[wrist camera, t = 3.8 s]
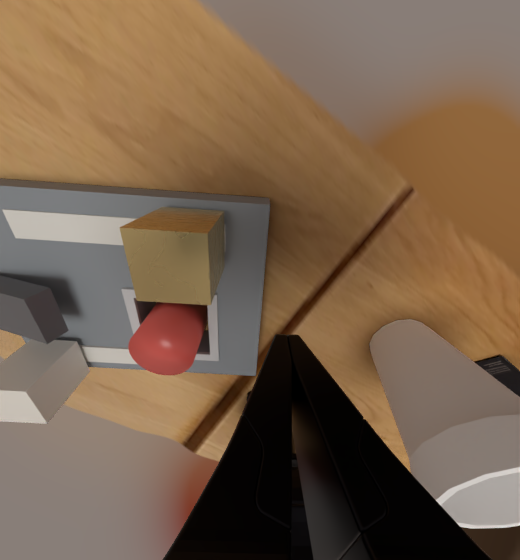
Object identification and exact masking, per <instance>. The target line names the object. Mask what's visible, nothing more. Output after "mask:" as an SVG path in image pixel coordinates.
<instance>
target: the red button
mask: <svg viewBox="0 0 520 560" xmlns="http://www.w3.org/2000/svg"><path fill="white" fill-rule="evenodd" d="M207 321H208V308H207V305H198V304H181V303H165V302H157V303H156V305H155V306H154V307H153V309H152V310H151V311H150V313H149V314H148V316H147V317H146V318H145V320H144V321H143V322H142V324H141V325H140V326H139V328H138V329H137V331H136V332H135V333H134V335H133V336H132V337H131V339H130V341H129V345H128V349H129V353H130V355H131V357H132V358H133V360H134V361H135V362H136V363H137V364H138V365H140V366H141V367H142V368H144V369H146V370H148V371H150V372H153V373H156V374H161V375H176V374H180V373H183V372H185V371H187V370H188V369H189V368H190V367H191V366H192V364H193V362H194V359H195V357H196V354H197V351H198V348H199V345H200V342H201V339H202V336H203V333H204V330H205V327H206V324H207Z"/></svg>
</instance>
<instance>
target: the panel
mask: <svg viewBox="0 0 520 560" xmlns="http://www.w3.org/2000/svg"><path fill="white" fill-rule="evenodd" d="M161 207H175V208H189V209H203V210H218V211H224V243H225V267H224V270H223V273H222V275H221V278H220V281H219V284H218V287H217V290H216V292H215V295H214V298H213V301H212V304H211V305H207V308H208V326H209V331H204V333H203V336H202V339H201V342H200V345H199V348H198V351H197V354H196V357H195V359H194V362H193V364H192V366H191V367H190V368H189V369H188V370H187V371H185V372H194V373H212V374H230V375H249V376H256V367H257V355H258V343H259V331H260V320H261V308H262V296H263V285H264V273H265V261H266V250H267V238H268V226H269V214H270V200H269V198H264V197H250V196H236V195H223V194H209V193H195V192H181V191H167V190H153V189H139V188H125V187H111V186H98V185H84V184H70V183H56V182H42V181H28V180H14V179H0V275H1V276H5V277H9V278H13V279H17V280H21V281H24V282H28V283H32V284H36V285H40V286H44V287H48V288H50V289H51V292H52V294H53V296H54V298H55V300H56V303H57V305H58V307H59V309H60V312H61V314H62V316H63V318H64V321H65V323H66V325H67V327H68V330H69V331H67V332H66V333H64V334H63V335H61V336H60V337H58V338H56V339H55V340H65V341H77V343H78V345H79V347H80V349H81V352H82V354H83V356H84V359H85V361H86V363H87V365H88V367H102V368H121V369H139V370H146V369H144V368H142V367H141V366H140V365H138V364H137V363H136V362H135V361H134V360H133V358H132V357H131V355H130V353H129V349H128V345H129V341H130V339H131V337H132V336H133V335H134V333H135V332H136V331H137V329H138V328H139V326H140V325H141V324H142V322H143V321H144V320H145V318H146V317H147V316H148V314H149V313H150V311H151V310H152V309H153V307H154V306H155V305H156V302H149V301H137V300H136V296H135V292H134V287H133V283H132V279H131V275H130V271H129V266H128V262H127V258H126V254H125V249H124V245H123V241H122V237H121V233H120V227H122V226H124V225H126V224H128V223H130V222H132V221H134V220H136V219H138V218H140V217H142V216H144V215H146V214H148V213H151V212H153V211H155V210H157V209H159V208H161ZM22 337H23V336H22ZM23 339H24V341H25V343H27V342H28V341H30V340H31V339H29V338H26V337H23Z"/></svg>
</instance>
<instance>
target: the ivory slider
mask: <svg viewBox="0 0 520 560" xmlns="http://www.w3.org/2000/svg"><path fill="white" fill-rule="evenodd" d="M89 372H90V370H89V368H88V365H87V363H86V361H85V359H84V356H83V354H82V352H81V349H80V347H79V345H78V343H77V341H65V340H53V341H52V342H50V343H49V344H45V343H42V342H39V341H36V340H33V339H31V340H30V341H28V342H27V343H26V344H25V345H23V346H22V347H21V348H19V349H18V350H17V351H16V352H14V353H13V354H12V355H10V356H9V357H8V358H7V359H5V360H4V361H3V362H2V363H0V421H6V422H26V423H46V424H48V422H49V421H50V420H51V419H52V417H53V416H54V415H55V414H56V412H57V411H58V410H59V409H60V407H61V406H62V405H63V404H64V403H65V401H66V400H67V399H68V398H69V396H70V395H71V394H72V393H73V391H74V390H75V389H76V388H77V387H78V385H79V384H80V383H81V382H82V380H83V379H84V378H85V377H86V375H87V374H88V373H89Z"/></svg>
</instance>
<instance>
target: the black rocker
mask: <svg viewBox="0 0 520 560" xmlns="http://www.w3.org/2000/svg"><path fill="white" fill-rule="evenodd" d="M0 329H1V330H4V331H8V332H11V333H14V334H17V335H20V336H23V337H26V338H29V339H33V340H36V341H39V342H42V343H45V344H49V343H50V342H52V341H53V340H55V339H56V338H58V337H60V336H61V335H63V334H64V333H66V332H67V331H69V330H68V327H67V325H66V323H65V321H64V318H63V316H62V314H61V312H60V309H59V307H58V305H57V303H56V300H55V298H54V296H53V294H52V292H51V289H50V288H48V287H44V286H40V285H36V284H32V283H28V282H24V281H21V280H17V279H13V278H9V277H5V276H1V275H0Z"/></svg>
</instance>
